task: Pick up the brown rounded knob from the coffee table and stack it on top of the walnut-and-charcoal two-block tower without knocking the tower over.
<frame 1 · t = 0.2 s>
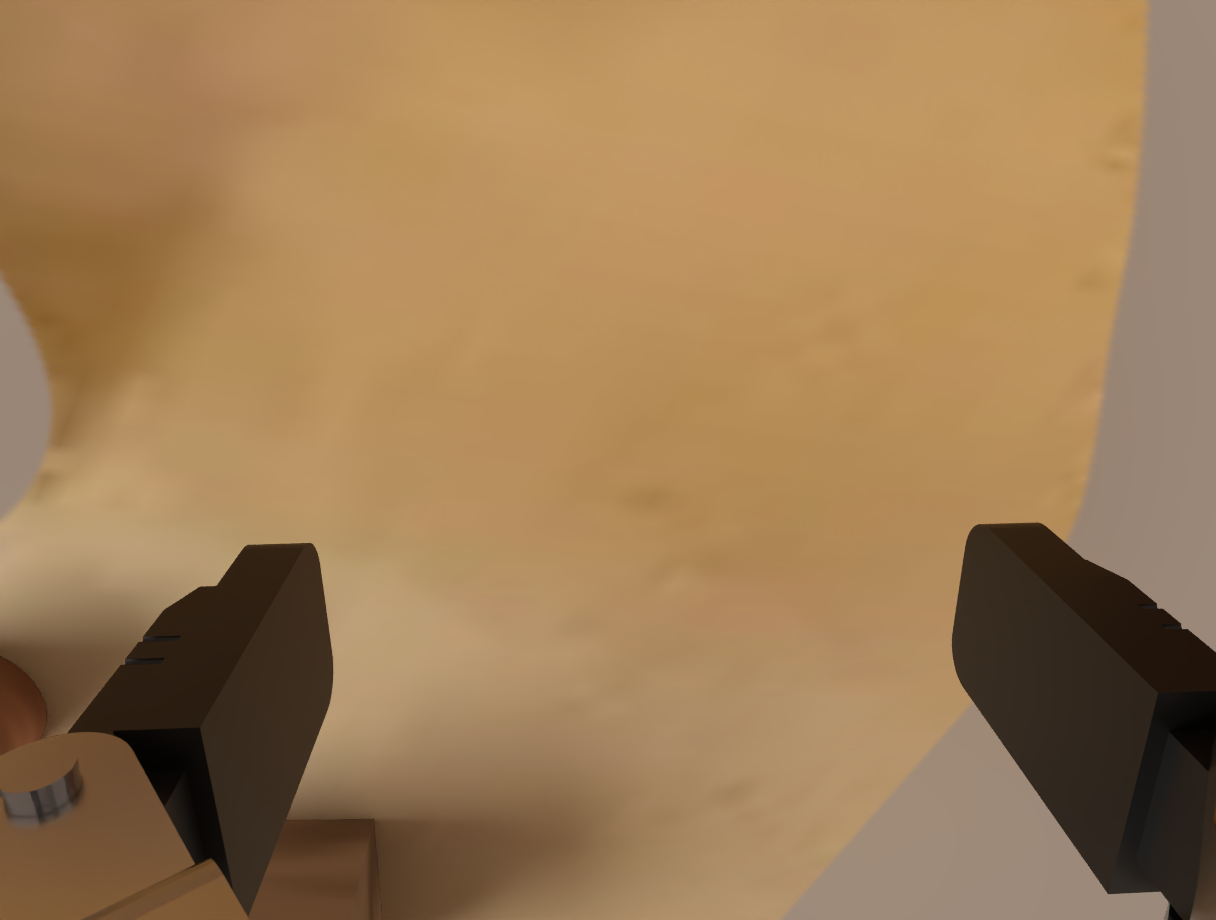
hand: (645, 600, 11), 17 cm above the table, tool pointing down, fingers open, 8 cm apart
tower base: (290, 884, 36), on the table, touching tower top
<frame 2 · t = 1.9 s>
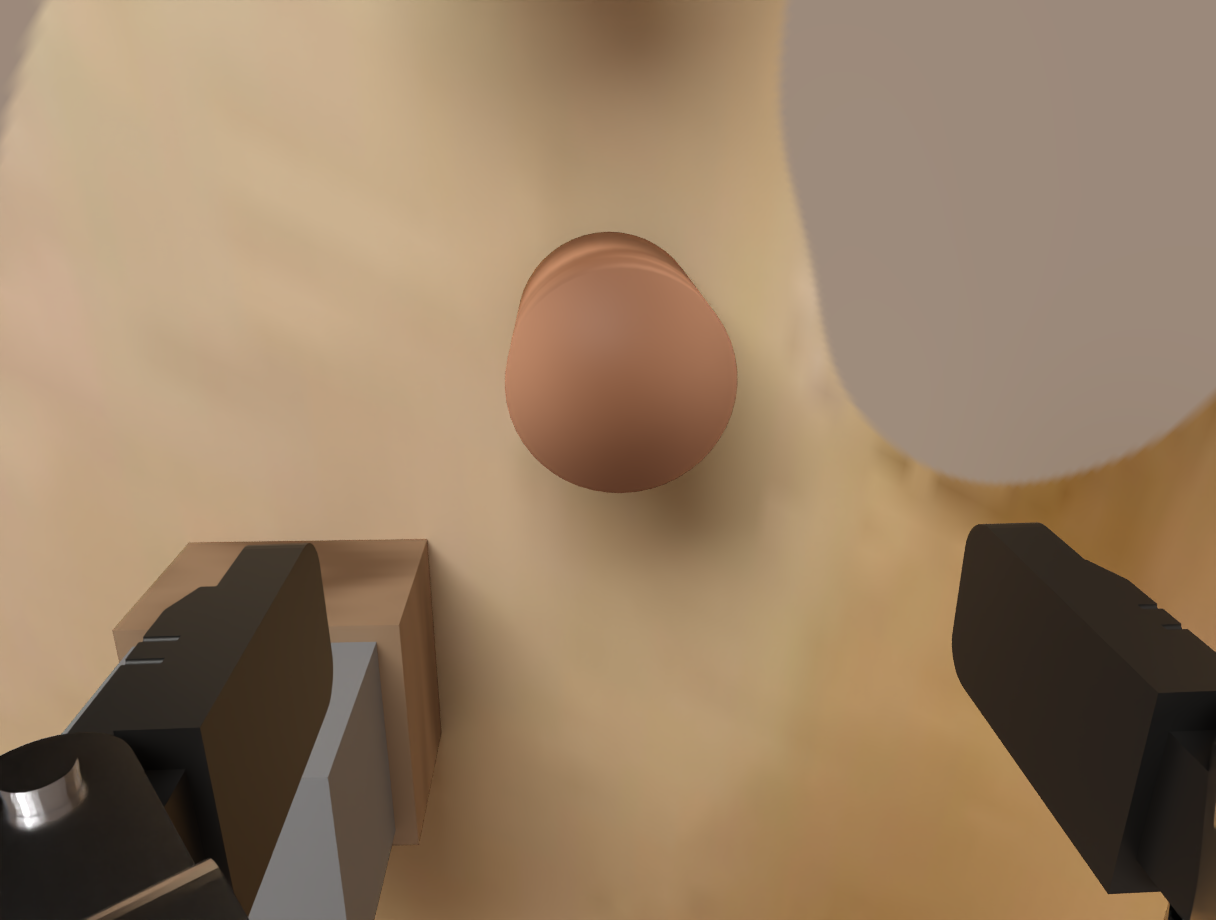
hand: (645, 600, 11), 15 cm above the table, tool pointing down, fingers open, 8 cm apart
brown rounded knob: (608, 324, 25), on the table
tower top: (270, 742, 24), point 5 cm above the table, touching tower base
tower base: (322, 640, 28), on the table, touching tower top
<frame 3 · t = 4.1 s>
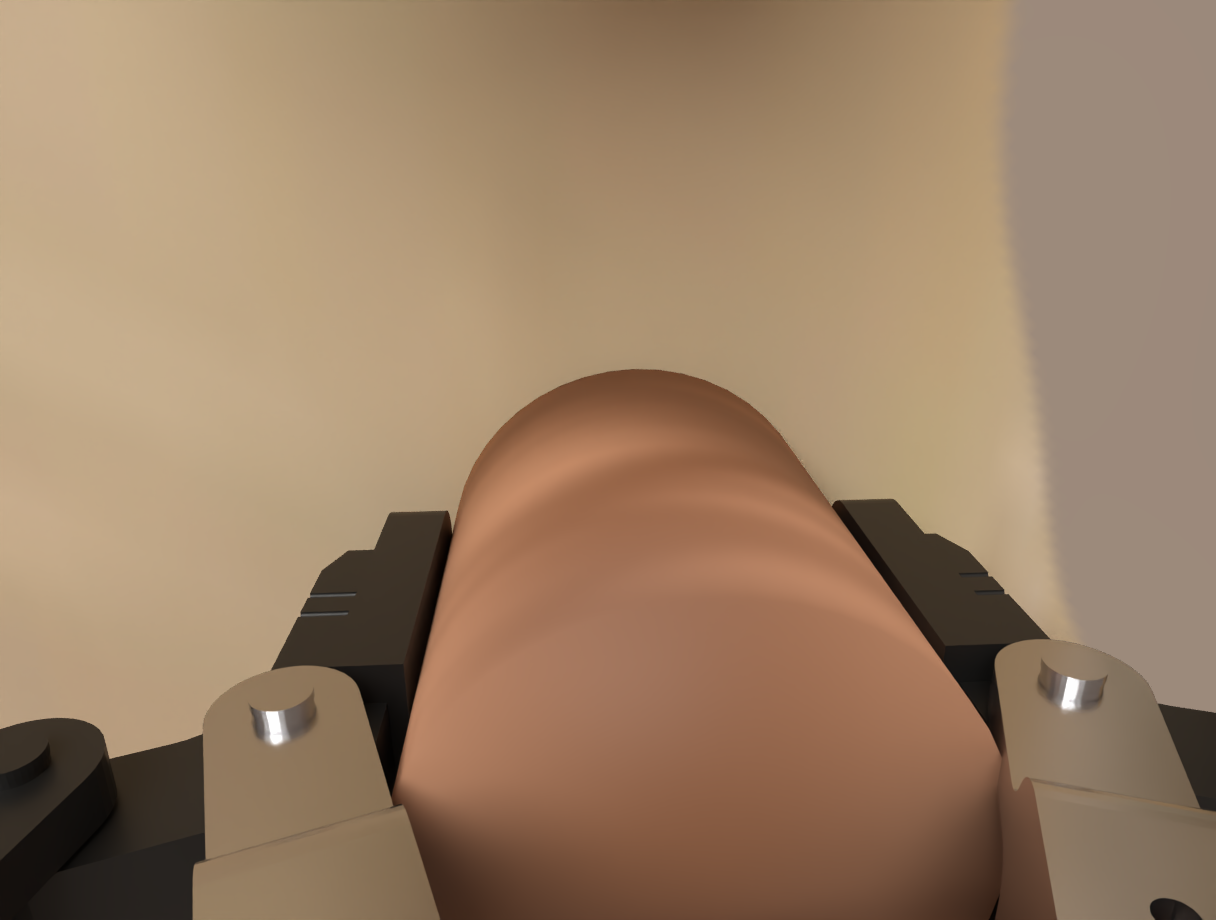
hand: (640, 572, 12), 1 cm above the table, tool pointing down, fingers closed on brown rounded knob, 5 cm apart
brown rounded knob: (635, 541, 13), on the table, touching gripper
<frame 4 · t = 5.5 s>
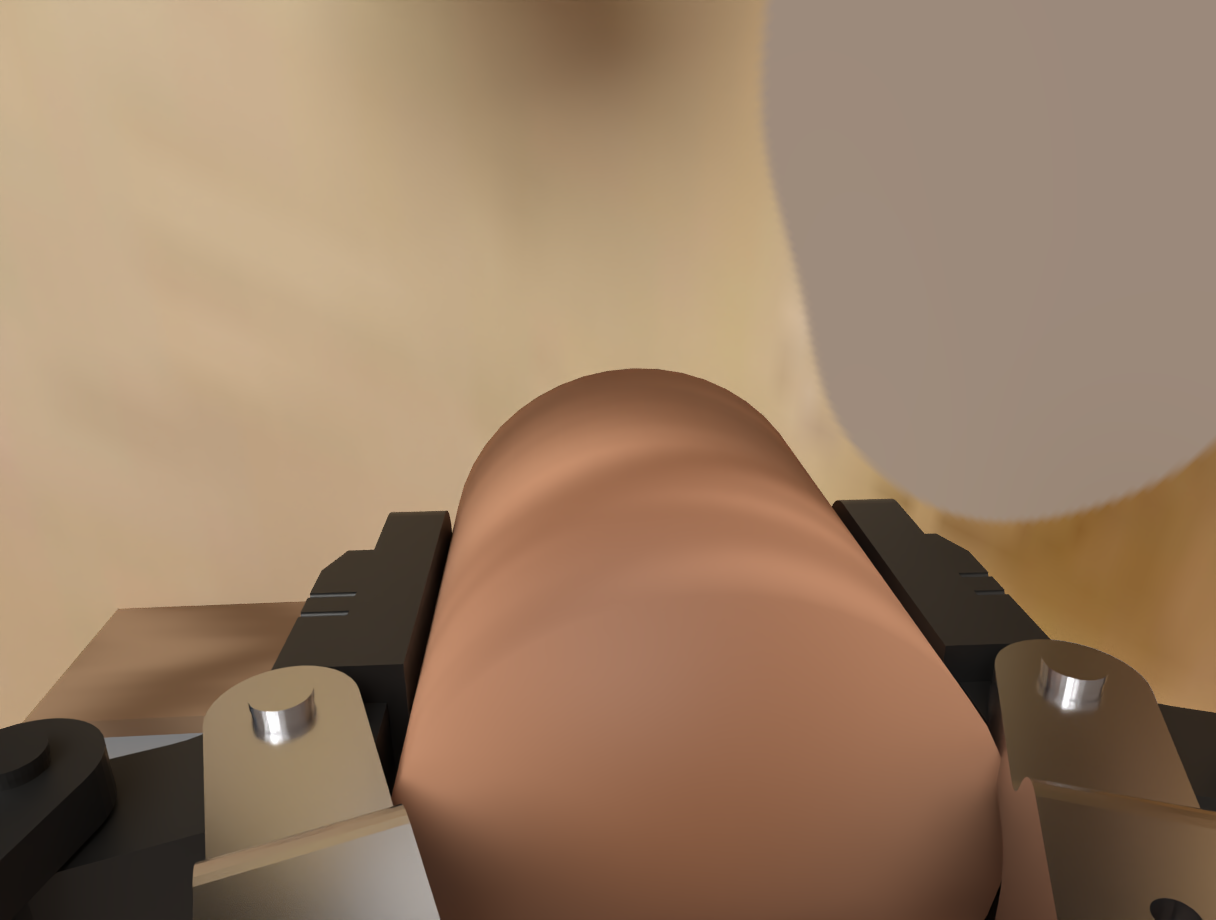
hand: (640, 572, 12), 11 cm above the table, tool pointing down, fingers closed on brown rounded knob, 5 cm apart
brown rounded knob: (634, 540, 13), point 11 cm above the table, touching gripper
tower top: (202, 839, 21), point 5 cm above the table, touching tower base
tower base: (271, 708, 26), on the table, touching tower top
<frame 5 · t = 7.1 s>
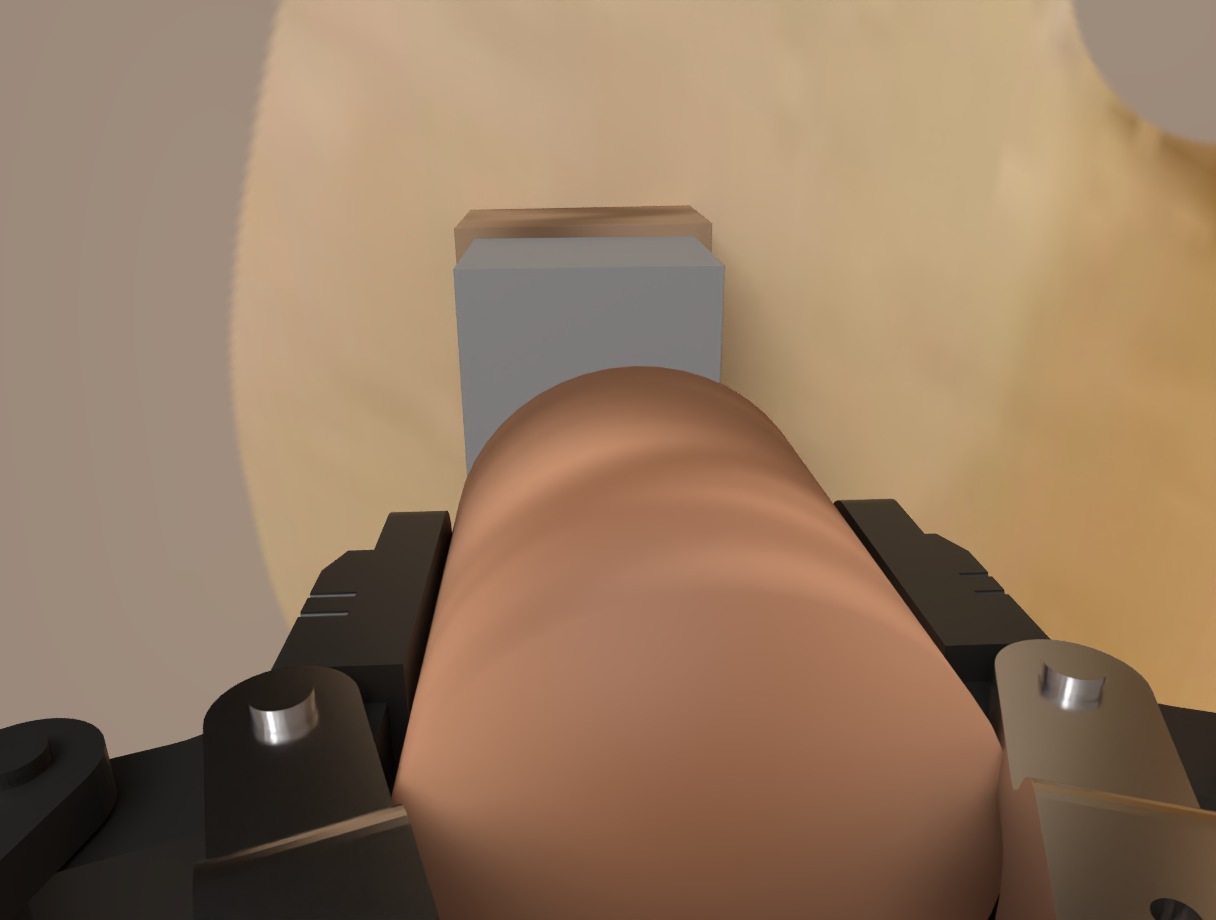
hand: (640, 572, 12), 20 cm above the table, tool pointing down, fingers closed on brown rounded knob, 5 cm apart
brown rounded knob: (635, 538, 13), point 19 cm above the table, touching gripper
tower top: (586, 345, 26), point 5 cm above the table, touching tower base
tower base: (583, 314, 31), on the table, touching tower top
when the fingers open (12 cm above the table, at t = 9.3 s): brown rounded knob drops 2 cm, resting on tower top.
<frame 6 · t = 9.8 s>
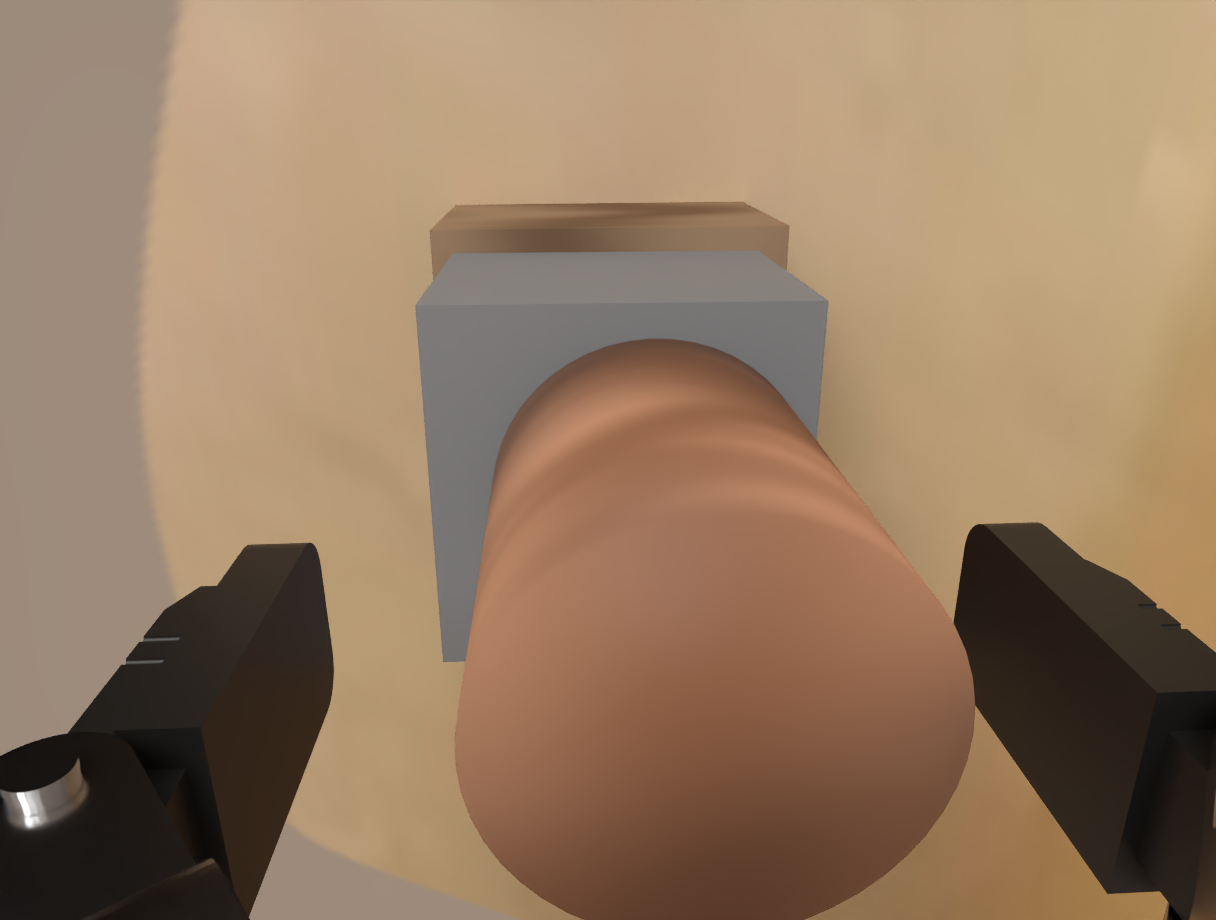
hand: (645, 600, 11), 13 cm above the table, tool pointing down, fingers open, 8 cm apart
brown rounded knob: (653, 494, 14), point 10 cm above the table, touching tower top
tower top: (606, 398, 19), point 5 cm above the table, touching brown rounded knob, tower base
tower base: (601, 342, 24), on the table, touching tower top
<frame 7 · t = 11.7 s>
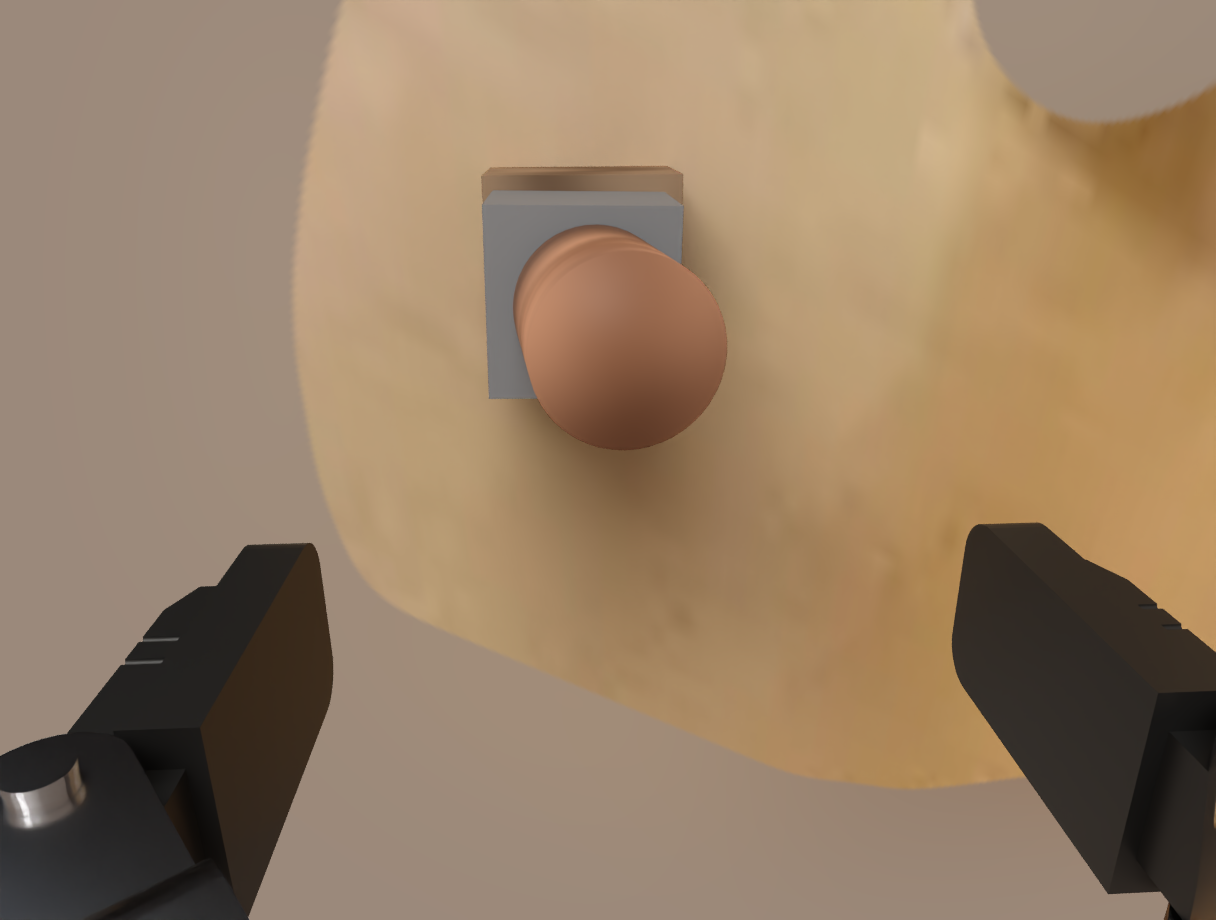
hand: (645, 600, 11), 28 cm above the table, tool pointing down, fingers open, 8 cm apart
brown rounded knob: (594, 307, 28), point 10 cm above the table, tilted 6°, touching tower top
tower top: (579, 277, 33), point 5 cm above the table, touching brown rounded knob, tower base
tower base: (580, 255, 38), on the table, touching tower top
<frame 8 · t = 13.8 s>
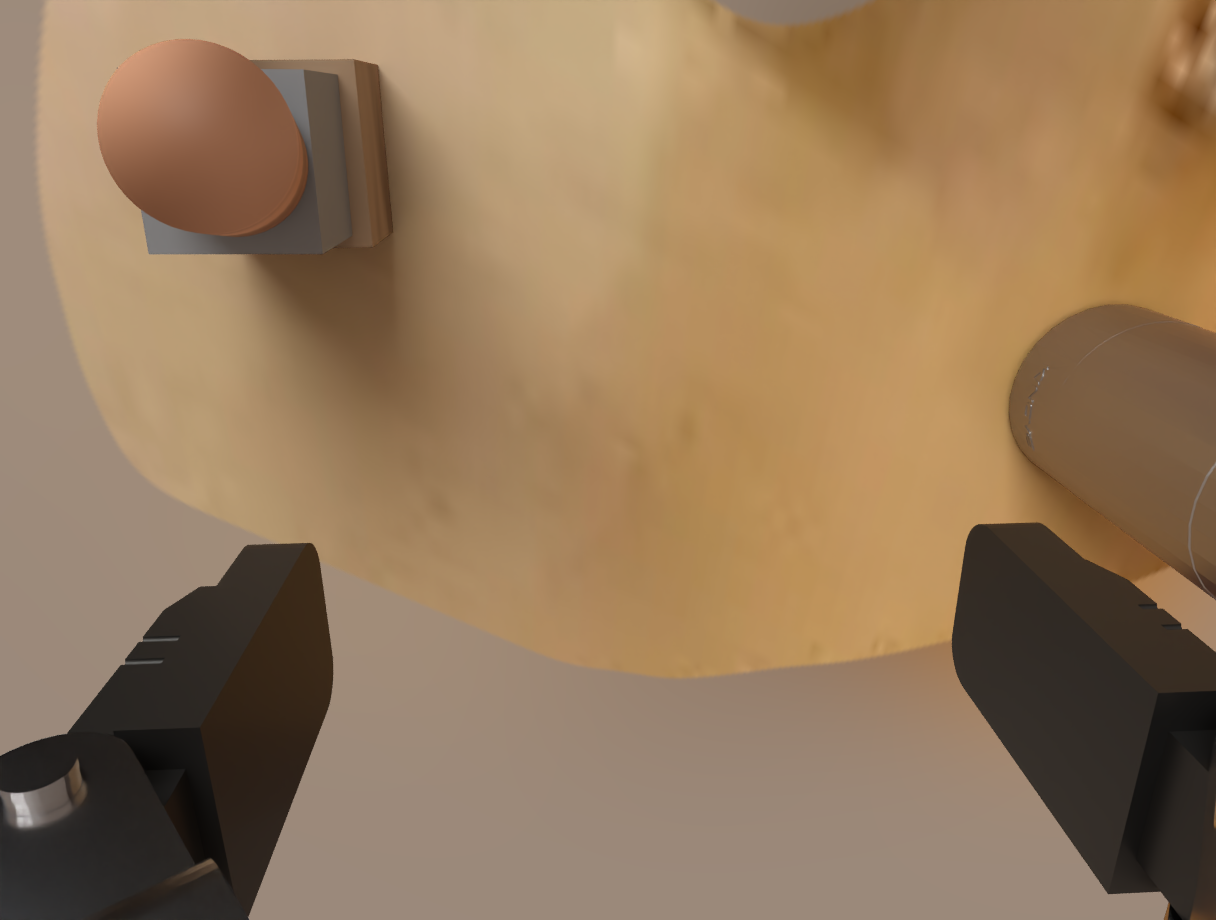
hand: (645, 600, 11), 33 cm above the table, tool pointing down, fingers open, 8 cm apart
brown rounded knob: (229, 159, 30), point 10 cm above the table, tilted 15°, touching tower top
tower top: (267, 157, 36), point 5 cm above the table, touching brown rounded knob, tower base
tower base: (306, 152, 40), on the table, touching tower top
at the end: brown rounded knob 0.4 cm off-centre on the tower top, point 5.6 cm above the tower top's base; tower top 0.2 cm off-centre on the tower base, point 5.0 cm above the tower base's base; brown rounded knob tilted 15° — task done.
